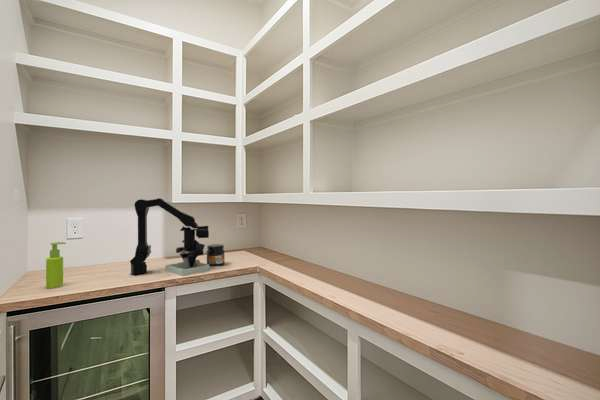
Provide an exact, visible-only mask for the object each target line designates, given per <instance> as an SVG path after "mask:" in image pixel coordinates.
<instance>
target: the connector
mask: <svg viewBox="0 0 600 400" xmlns="http://www.w3.org/2000/svg"><path fill="white" fill-rule="evenodd" d="M200 260H201V259H197V258H196V259H195V262H194V265H193V267H190V263H189V260H188V257H187V258H183V259H182V262H183V269H190V268H195V267H196V264H199V263H201V262H200Z"/></svg>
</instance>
